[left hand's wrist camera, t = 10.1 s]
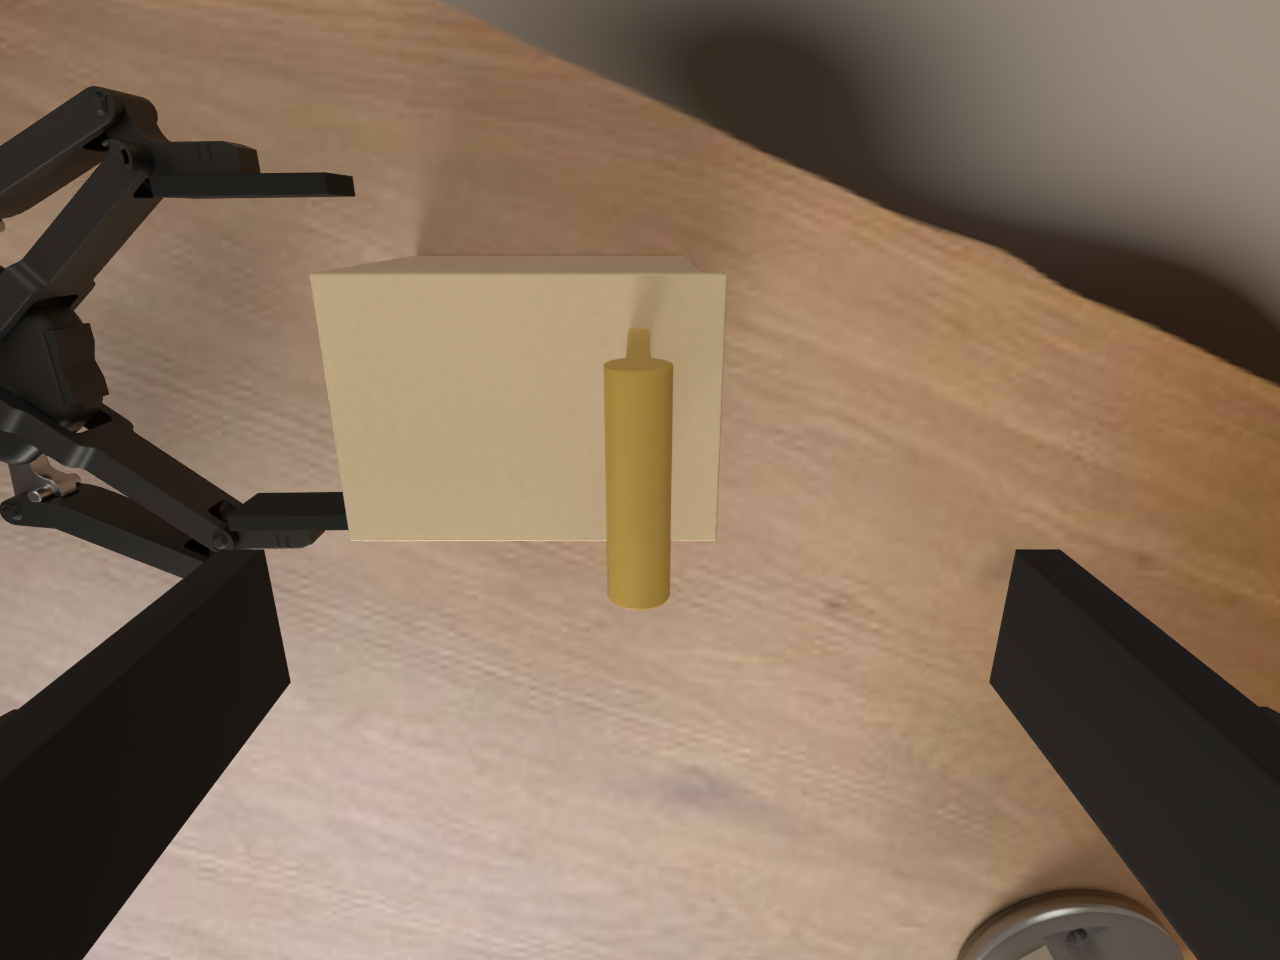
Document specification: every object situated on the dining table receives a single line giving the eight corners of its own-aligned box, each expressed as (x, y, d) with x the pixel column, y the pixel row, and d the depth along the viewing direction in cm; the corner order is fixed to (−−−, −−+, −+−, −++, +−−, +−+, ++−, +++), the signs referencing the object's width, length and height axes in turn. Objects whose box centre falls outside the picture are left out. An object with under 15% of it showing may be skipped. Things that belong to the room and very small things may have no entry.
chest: (684, 255, 35) (703, 272, 25) (680, 446, 38) (695, 532, 28) (414, 255, 35) (319, 271, 25) (434, 446, 38) (357, 532, 28)
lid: (724, 271, 25) (767, 299, 16) (714, 532, 28) (745, 662, 20) (318, 271, 25) (159, 299, 16) (357, 533, 28) (241, 663, 20)
